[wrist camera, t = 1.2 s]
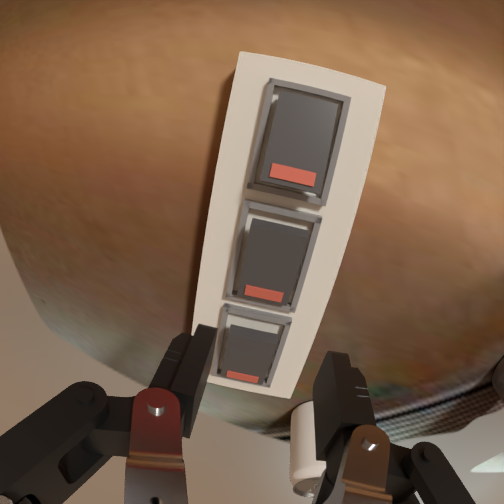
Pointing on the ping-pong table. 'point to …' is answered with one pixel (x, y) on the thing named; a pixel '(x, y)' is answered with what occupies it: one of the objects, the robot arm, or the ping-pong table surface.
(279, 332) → the switch panel
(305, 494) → the can
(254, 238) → the rocker
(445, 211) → the ping-pong table surface
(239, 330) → the rocker
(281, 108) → the rocker
